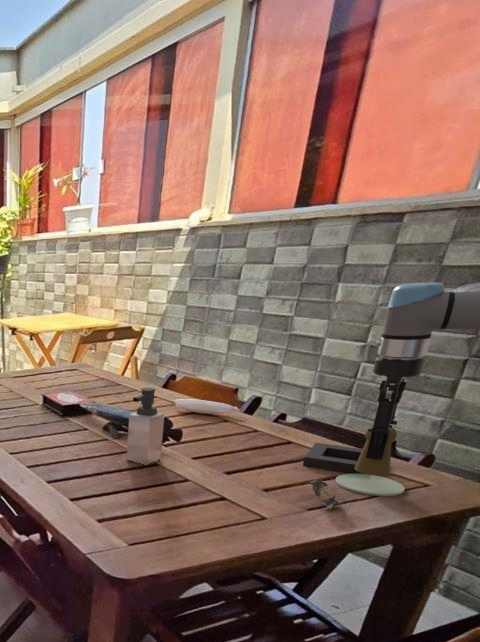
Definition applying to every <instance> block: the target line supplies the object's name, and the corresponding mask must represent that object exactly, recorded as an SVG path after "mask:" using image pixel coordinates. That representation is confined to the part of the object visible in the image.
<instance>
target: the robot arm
mask: <svg viewBox="0 0 480 642" xmlns="http://www.w3.org/2000/svg"><path fill="white" fill-rule="evenodd" d="M433 330H480V281H479V282H478V281H477V282H476V281H475V282H471V283H467V284H464V285H461V286H460V287H458V288H456V289H455V290H454V291H445V285H444V283H443V282H436V281H435V282H432V281H431V282H411V283H403V284H399V285H397V286H396V287H394V288H393V290H392V291H391V295H390V299H389V301H388V305H387V308H386V313H385V318H384V322H383V325H382V330H381V331H382V332H381V337H380V340H377V341H376V342H375V345H376V346H379V347H378V349H377V355H378V356H377V357H376V358H375V361H374V365H373V369H372V372H373V374H375V375H377V376H381V377H382V376H384V377H386V379H385V380H382V381H381V382H380V384H379V387H378V389H379V394H378V397H377V402H378V405H377V410H376V413H375V418H374V422H373V425H372V426H373V428H372V429H368V428H367V429H368V432H372V434H371V438H370V442H369V446H368V451H367V455H366V458H372V459H379V460H382V458H383V455H384V451H385V447H386V443H387V439H388V435H389V427H391V428H393V425H394V426H397V425H398V420H395V419H396V412H397V408H398V405H399V404H400V401H401V400H402V397H403V394H404V392H405V390H406V387H407V384H408V382H407V381H405V378H413V377H418V376H419V375H421V374H422V372H423V367H424V363H425V359H424V358H423V357H425V356H427V353H428V351H429V347H430V343H431V339H432V337H431V336H432V333H433Z"/></svg>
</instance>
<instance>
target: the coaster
mask: <svg viewBox="0 0 480 642" xmlns="http://www.w3.org/2000/svg"><path fill="white" fill-rule="evenodd" d="M334 482H335V484H336V485H337V486H339V487H341V488H343V489H344V490H347V491H350V492H353V493H356V494H357V493H358V494H362V495H366V496H373V497H395V496H400V495H402V494H403V493H404V492H405V491H406V488H405V486H404V485H403V484H402V483H401V482H398V481H396V480H393V479H390V478H387V477H385V476H375V475H368V474H353V473H343V474H340V475H337V476H336V477H335V479H334Z"/></svg>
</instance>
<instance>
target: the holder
mask: <svg viewBox="0 0 480 642" xmlns="http://www.w3.org/2000/svg"><path fill="white" fill-rule="evenodd" d="M362 450H363V448H357V447H352V446H343V445H336V444H330V443H329V444H328V443H321V442H314V443H313V445H312V446H311V448H310V449H309V450H308V451H307V453H306V454H305V455H304V457H303V463H302V466H305V467H311V468H317V469H322V470H328V471H333V472H334V471H335V472H340V473H341V472H342V473H346V474H364V473H360V472H358V471H356V470H355V466H356V464H357V461H356V460H358V459H359V457H360V454H361V452H362Z"/></svg>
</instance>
